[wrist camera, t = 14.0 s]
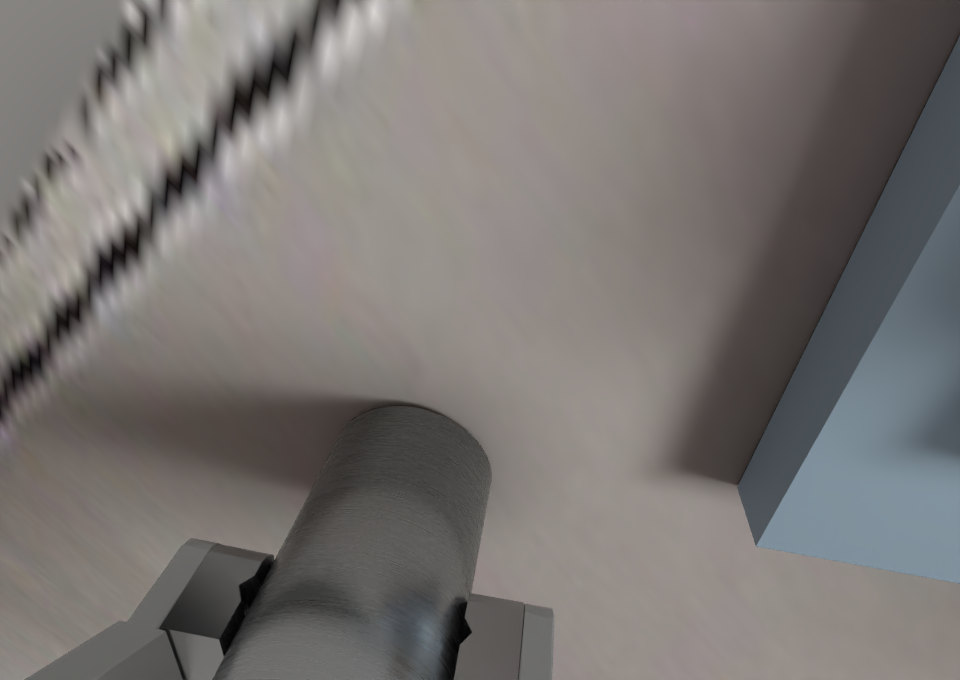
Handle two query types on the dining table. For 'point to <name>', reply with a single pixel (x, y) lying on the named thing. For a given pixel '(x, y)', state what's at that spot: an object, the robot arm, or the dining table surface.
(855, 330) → the base
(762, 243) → the dining table surface
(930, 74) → the dining table surface
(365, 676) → the peg
